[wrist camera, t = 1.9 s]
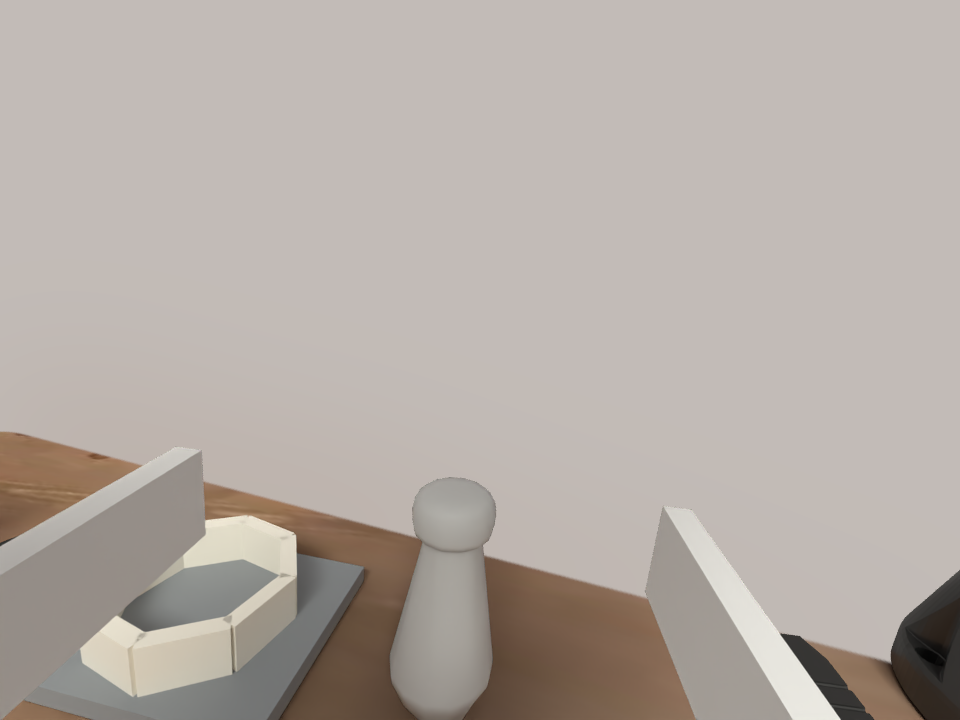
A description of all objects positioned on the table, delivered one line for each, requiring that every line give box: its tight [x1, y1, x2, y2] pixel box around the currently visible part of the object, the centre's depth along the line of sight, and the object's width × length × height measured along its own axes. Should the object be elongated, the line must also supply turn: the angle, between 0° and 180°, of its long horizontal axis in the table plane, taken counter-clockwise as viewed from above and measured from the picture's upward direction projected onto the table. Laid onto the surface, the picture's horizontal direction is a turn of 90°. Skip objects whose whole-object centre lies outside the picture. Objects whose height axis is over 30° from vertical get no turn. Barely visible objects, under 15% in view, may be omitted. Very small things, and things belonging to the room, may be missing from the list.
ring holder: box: [80, 515, 297, 697], centre depth 29 cm, size 11×11×3 cm
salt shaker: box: [390, 477, 496, 720], centre depth 25 cm, size 6×6×13 cm
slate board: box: [24, 553, 364, 720], centre depth 29 cm, size 16×13×1 cm
